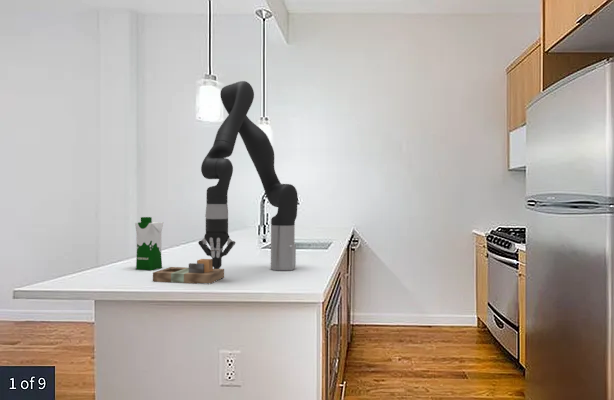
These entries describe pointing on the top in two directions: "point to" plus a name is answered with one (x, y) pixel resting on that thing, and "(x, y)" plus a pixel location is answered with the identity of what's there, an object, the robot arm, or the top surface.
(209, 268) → the orange block
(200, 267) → the wooden tray
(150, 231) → the milk carton
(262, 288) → the top surface
